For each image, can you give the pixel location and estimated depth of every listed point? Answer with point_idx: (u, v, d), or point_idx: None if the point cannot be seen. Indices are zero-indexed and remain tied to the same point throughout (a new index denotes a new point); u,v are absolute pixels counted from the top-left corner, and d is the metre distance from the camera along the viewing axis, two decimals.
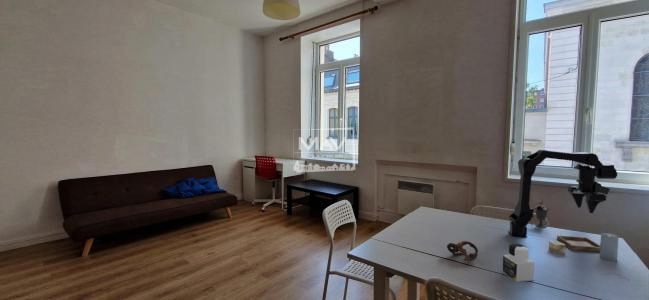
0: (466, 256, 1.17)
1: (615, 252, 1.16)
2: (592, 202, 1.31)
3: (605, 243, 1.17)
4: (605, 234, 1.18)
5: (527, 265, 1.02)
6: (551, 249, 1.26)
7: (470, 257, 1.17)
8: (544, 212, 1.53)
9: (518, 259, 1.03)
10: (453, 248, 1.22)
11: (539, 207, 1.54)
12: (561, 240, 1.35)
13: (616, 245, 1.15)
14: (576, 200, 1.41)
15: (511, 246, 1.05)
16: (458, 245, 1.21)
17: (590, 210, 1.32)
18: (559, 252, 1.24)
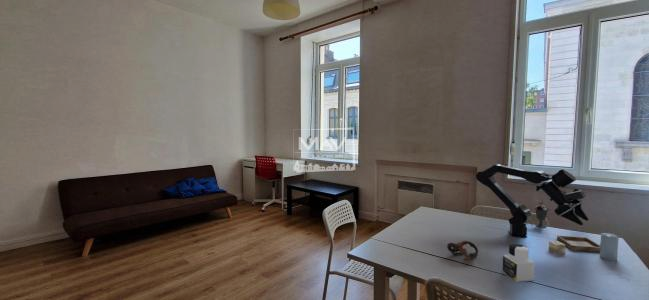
0: (466, 256, 1.17)
1: (615, 252, 1.16)
2: (569, 215, 1.23)
3: (605, 243, 1.17)
4: (605, 234, 1.18)
5: (527, 265, 1.02)
6: (551, 249, 1.26)
7: (470, 257, 1.17)
8: (544, 212, 1.53)
9: (518, 259, 1.03)
10: (453, 248, 1.22)
11: (539, 207, 1.54)
12: (561, 240, 1.35)
13: (616, 245, 1.15)
14: (578, 214, 1.29)
15: (511, 246, 1.05)
16: (458, 245, 1.21)
17: (577, 223, 1.22)
18: (559, 252, 1.24)
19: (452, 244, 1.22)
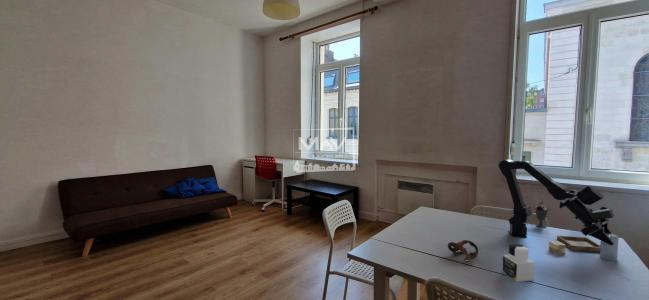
0: (467, 255, 1.18)
1: (615, 252, 1.16)
2: (598, 234, 1.17)
3: (605, 243, 1.17)
4: None
5: (527, 265, 1.02)
6: (551, 249, 1.26)
7: (471, 256, 1.18)
8: (544, 212, 1.53)
9: (518, 259, 1.03)
10: (454, 247, 1.23)
11: (539, 207, 1.54)
12: (561, 240, 1.35)
13: (616, 245, 1.15)
14: None
15: (511, 246, 1.05)
16: (459, 244, 1.22)
17: (607, 242, 1.16)
18: (559, 252, 1.24)
19: (452, 243, 1.23)
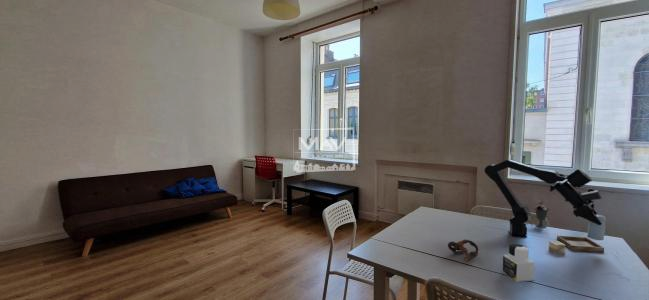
0: (467, 254, 1.19)
1: (602, 231, 1.21)
2: (588, 215, 1.22)
3: (593, 223, 1.22)
4: None
5: (527, 265, 1.02)
6: (551, 249, 1.26)
7: (471, 255, 1.18)
8: (544, 212, 1.53)
9: (518, 259, 1.03)
10: (454, 247, 1.23)
11: (539, 207, 1.54)
12: (561, 240, 1.35)
13: (604, 225, 1.21)
14: None
15: (511, 246, 1.05)
16: (459, 244, 1.23)
17: (596, 222, 1.21)
18: (559, 252, 1.24)
19: (453, 243, 1.23)
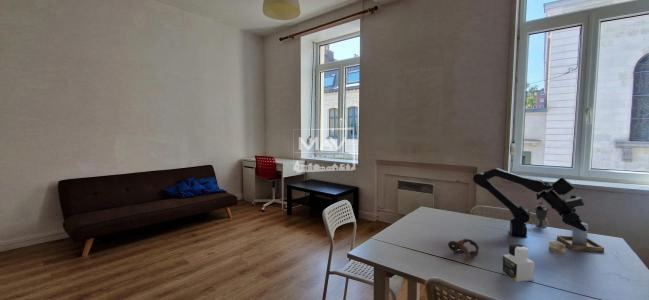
0: (467, 254, 1.19)
1: (586, 238, 1.28)
2: (574, 222, 1.27)
3: (578, 231, 1.29)
4: None
5: (527, 265, 1.02)
6: (551, 249, 1.26)
7: (471, 254, 1.19)
8: (544, 212, 1.53)
9: (518, 259, 1.03)
10: (454, 246, 1.24)
11: (539, 207, 1.54)
12: (561, 240, 1.35)
13: (587, 232, 1.28)
14: None
15: (511, 246, 1.05)
16: (459, 243, 1.23)
17: (581, 229, 1.26)
18: (559, 252, 1.24)
19: (453, 242, 1.24)
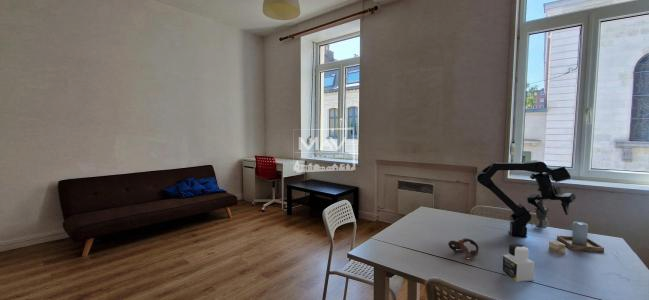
0: (467, 253, 1.20)
1: (586, 238, 1.28)
2: None
3: (578, 231, 1.29)
4: (577, 223, 1.30)
5: (527, 265, 1.02)
6: (551, 249, 1.26)
7: (471, 254, 1.19)
8: None
9: (518, 259, 1.03)
10: (454, 245, 1.24)
11: None
12: (561, 240, 1.35)
13: (587, 232, 1.28)
14: (541, 208, 1.43)
15: (511, 246, 1.05)
16: (459, 242, 1.24)
17: (567, 212, 1.34)
18: (559, 252, 1.24)
19: (453, 242, 1.25)
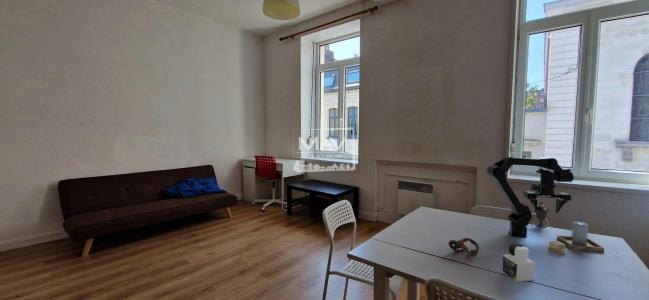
0: (468, 252, 1.20)
1: (586, 238, 1.28)
2: None
3: (578, 231, 1.29)
4: (577, 223, 1.30)
5: (527, 265, 1.02)
6: (551, 249, 1.26)
7: (471, 253, 1.20)
8: (544, 212, 1.53)
9: (518, 259, 1.03)
10: (455, 245, 1.25)
11: (539, 207, 1.54)
12: (561, 240, 1.35)
13: (587, 232, 1.28)
14: None
15: (511, 246, 1.05)
16: (459, 242, 1.24)
17: None
18: (559, 252, 1.24)
19: (453, 241, 1.25)
